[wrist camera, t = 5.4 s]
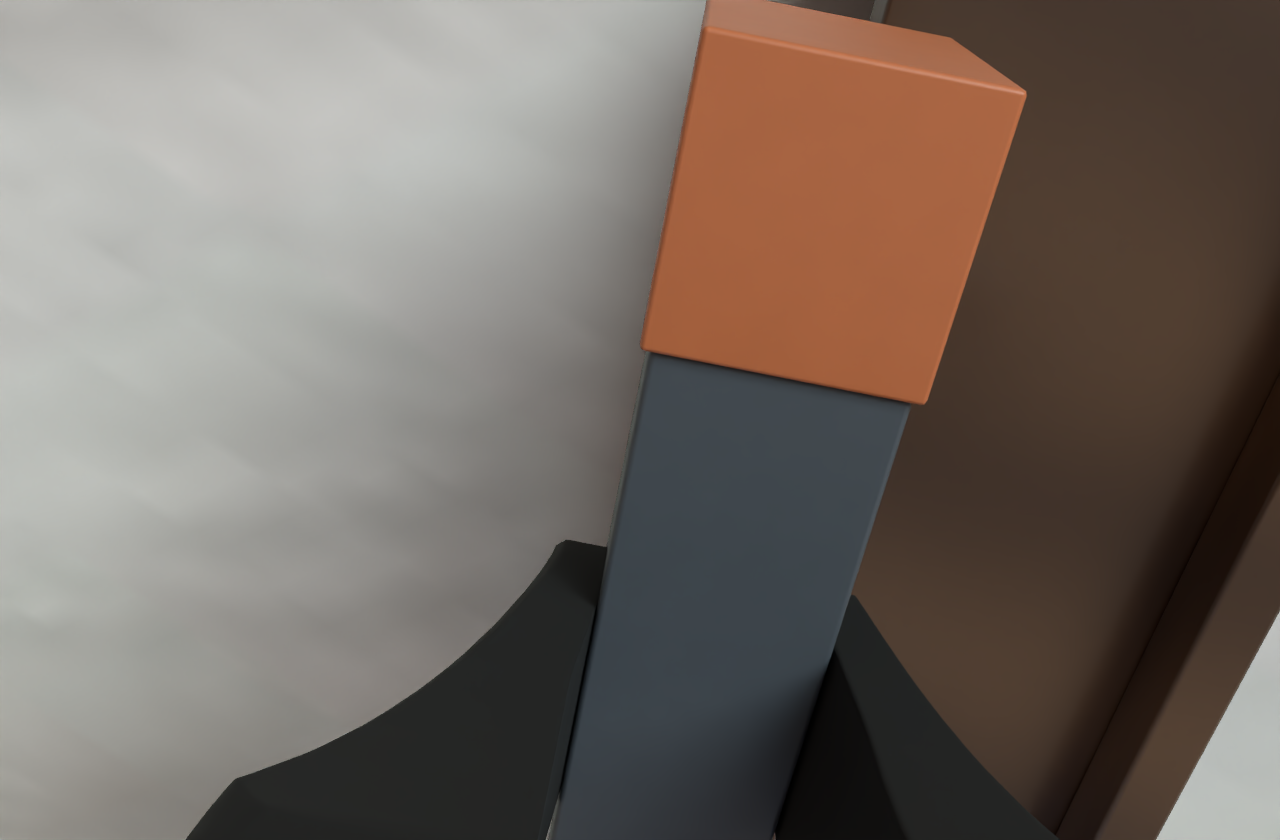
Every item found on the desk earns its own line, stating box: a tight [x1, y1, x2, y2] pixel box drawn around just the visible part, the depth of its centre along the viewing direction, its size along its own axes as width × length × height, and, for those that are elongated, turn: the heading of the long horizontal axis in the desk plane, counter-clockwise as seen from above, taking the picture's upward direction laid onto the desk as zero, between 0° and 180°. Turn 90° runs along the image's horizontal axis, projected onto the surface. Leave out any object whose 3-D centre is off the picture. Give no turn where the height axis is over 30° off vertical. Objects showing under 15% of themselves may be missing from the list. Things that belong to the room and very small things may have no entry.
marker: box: [548, 0, 1027, 840], centre depth 14 cm, size 15×3×4 cm, turn 170°
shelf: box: [772, 0, 1280, 840], centre depth 20 cm, size 18×8×6 cm, turn 169°
